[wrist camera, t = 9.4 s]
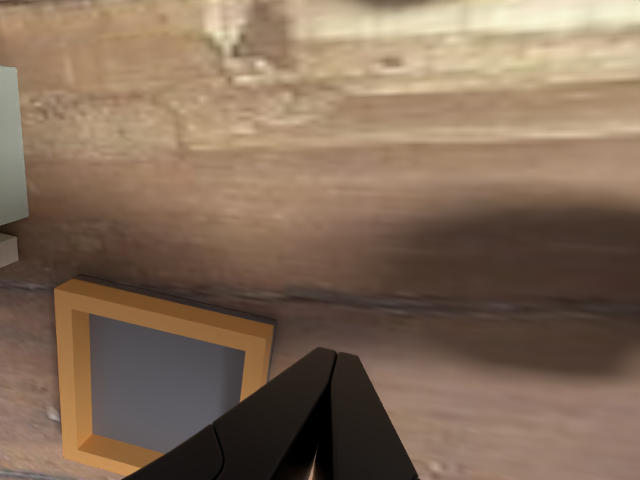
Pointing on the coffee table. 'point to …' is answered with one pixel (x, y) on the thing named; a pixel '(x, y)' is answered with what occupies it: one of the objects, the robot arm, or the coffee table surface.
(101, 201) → the coffee table surface
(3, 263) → the birch channel
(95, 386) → the tray
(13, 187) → the sage block
